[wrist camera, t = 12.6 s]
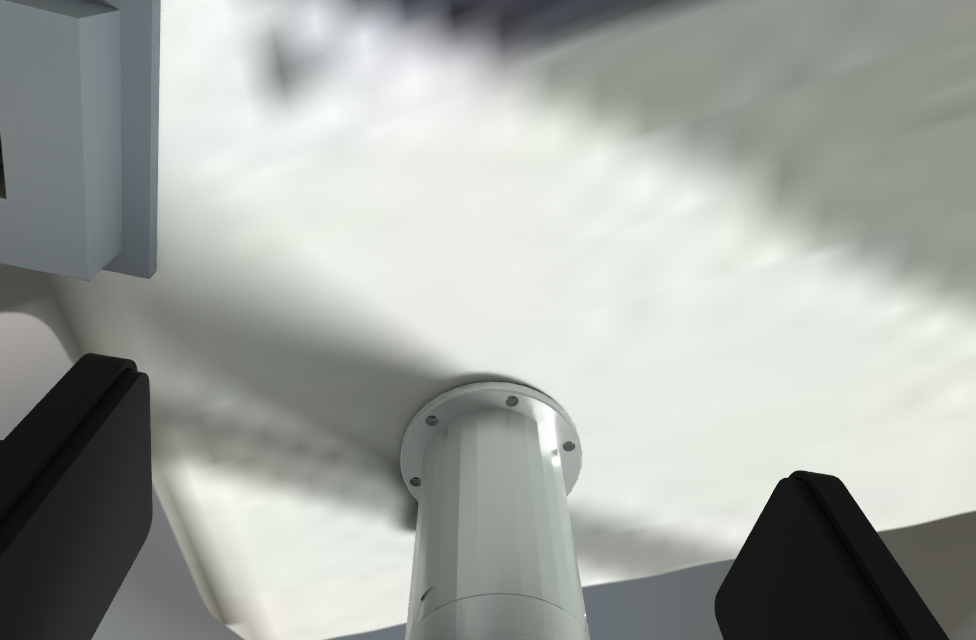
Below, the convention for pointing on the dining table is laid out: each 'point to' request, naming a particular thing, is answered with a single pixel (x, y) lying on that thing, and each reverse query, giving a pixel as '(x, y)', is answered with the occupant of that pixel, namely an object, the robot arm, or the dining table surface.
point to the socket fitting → (79, 135)
